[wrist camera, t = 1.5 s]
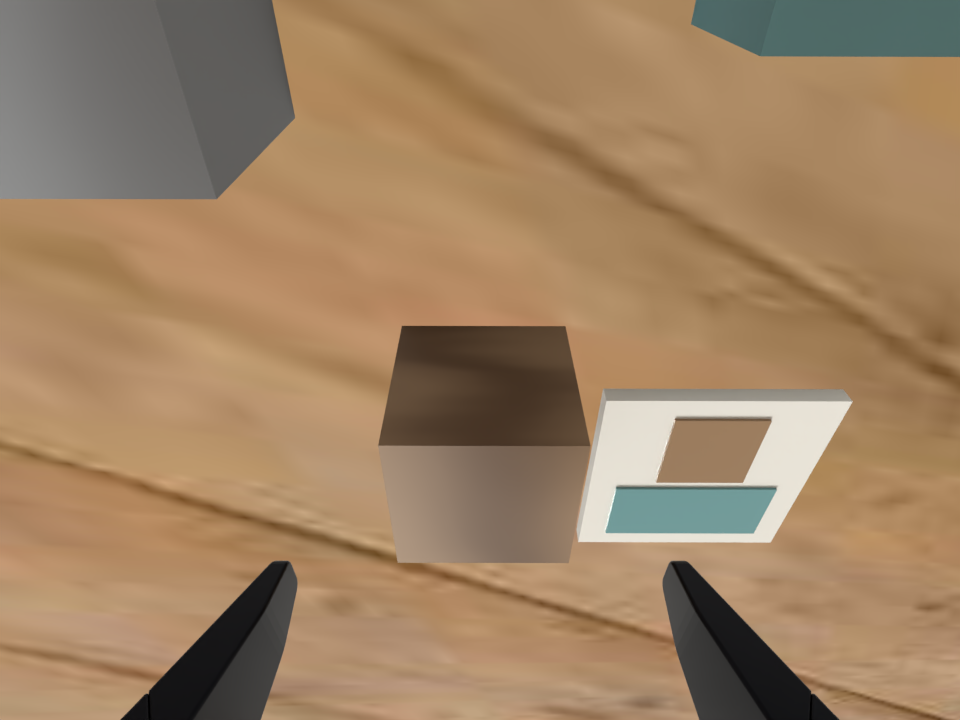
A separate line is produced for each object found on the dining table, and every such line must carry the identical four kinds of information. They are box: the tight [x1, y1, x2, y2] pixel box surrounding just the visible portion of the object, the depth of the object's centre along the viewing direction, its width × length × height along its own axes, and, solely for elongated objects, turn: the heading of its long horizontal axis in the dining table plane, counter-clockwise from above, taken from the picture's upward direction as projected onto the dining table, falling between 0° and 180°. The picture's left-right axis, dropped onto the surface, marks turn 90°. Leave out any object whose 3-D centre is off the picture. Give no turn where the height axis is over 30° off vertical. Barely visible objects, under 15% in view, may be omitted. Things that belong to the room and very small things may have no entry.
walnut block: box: [378, 326, 591, 563], centre depth 16 cm, size 5×5×5 cm
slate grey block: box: [0, 0, 295, 199], centre depth 9 cm, size 5×5×5 cm
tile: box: [576, 389, 853, 543], centre depth 20 cm, size 8×8×1 cm
